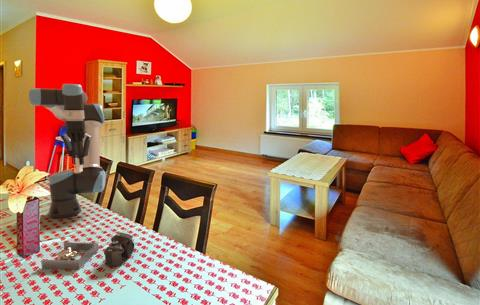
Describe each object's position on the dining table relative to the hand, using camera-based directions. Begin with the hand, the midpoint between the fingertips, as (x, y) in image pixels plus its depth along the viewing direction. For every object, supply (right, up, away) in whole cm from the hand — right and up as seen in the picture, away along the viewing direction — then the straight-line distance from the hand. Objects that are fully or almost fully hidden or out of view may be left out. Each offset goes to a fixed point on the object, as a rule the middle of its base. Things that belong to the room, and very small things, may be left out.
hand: (79, 171), depth 128 cm
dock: (+7, -33, -17) cm, 38 cm away
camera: (+26, -34, -16) cm, 45 cm away
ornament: (+6, -34, -18) cm, 39 cm away
